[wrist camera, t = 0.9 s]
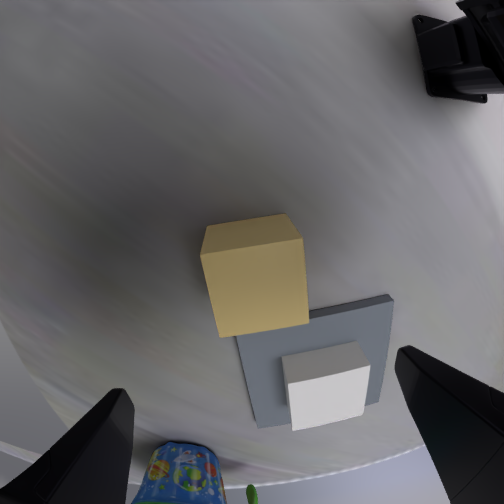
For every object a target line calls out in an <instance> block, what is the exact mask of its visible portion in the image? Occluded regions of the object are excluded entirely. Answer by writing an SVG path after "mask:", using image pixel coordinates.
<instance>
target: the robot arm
mask: <svg viewBox="0 0 504 504" xmlns="http://www.w3.org/2000/svg"><path fill="white" fill-rule="evenodd" d="M456 5H457V6H458V7H459V9H460V10H463V12H464V13H465V15H466V16H464V17H461V18H458V19H455V20H452V21H450V22H446V21H442V20H439V19H435V18H431V17H427V16H423V15H416V16H414V17H413V24H414V28H415V32H416V36H417V41H418V46H419V50H420V55H421V60H422V65H423V70H424V76H425V82H426V88H427V92H428V94H429V95H430V96H431V97H438V98H447V99H455V100H463V101H470V102H476V103H486V102H487V94H504V0H459V1H457V2H456ZM418 19H419V20H420V22H421V23H420V22H419V21H418ZM432 88H434V90H435V92H433V90H432ZM395 373H396V376H397V378H398V381H399V384H400V387H401V389H402V392H403V395H404V398H405V401H406V403H407V406H408V409H409V411H410V413H411V415H412V417H413V419H414V421H415V423H416V425H417V428H418V430H419V432H420V434H421V436H422V438H423V440H424V443H425V445H426V447H427V449H428V451H429V453H430V455H431V458H432V460H433V462H434V465H435V467H436V469H437V471H438V474H439V476H440V479H441V481H442V483H443V486H444V488H445V491H446V493H447V495H448V498H449V500H450V503H451V504H504V393H503V392H501V391H499V390H497V389H495V388H493V387H489V386H488V385H487V384H485V383H483V382H481V381H479V380H477V379H475V378H473V377H471V376H469V375H467V374H465V373H463V372H461V371H459V370H457V369H455V368H453V367H451V366H449V365H448V364H446V363H444V362H442V361H440V360H438V359H436V358H434V357H432V356H430V355H428V354H426V353H424V352H422V351H420V350H419V349H417V348H415V347H413V346H410V345H408V346H404V347H401V348H399V349H398V352H397V356H396V361H395ZM134 412H135V409H134V405H133V403H132V401H131V399H130V397H129V396H128V394H127V392H126V390H125V389H123V388H114V389H112V390H110V391H109V392H108V393H107V394H106V395H105V396H104V397H103V398H102V399H101V400H100V401H99V402H98V403H97V404H96V405H95V406H94V407H93V408H92V409H91V410H90V411H88V412H87V413H86V414H85V415H84V416H83V417H82V418H81V419H80V420H79V421H78V422H77V423H76V424H75V425H74V426H73V427H72V428H71V429H70V430H69V431H68V432H67V433H65V435H63V436H62V438H60V439H59V440H58V441H57V442H56V443H55V444H54V445H53V446H52V447H51V448H50V450H48V451H47V452H46V453H44V454H43V455H42V456H41V457H40V458H39V459H38V460H37V461H36V462H35V463H34V464H32V465H31V466H30V467H29V468H27V469H26V470H25V471H24V472H22V473H21V474H20V475H19V476H17V477H16V478H15V479H13V480H12V481H11V482H9V483H8V484H7V485H5V486H4V487H2V488H1V489H0V504H125V500H126V492H127V484H128V477H129V470H130V463H131V456H132V449H133V430H134Z"/></svg>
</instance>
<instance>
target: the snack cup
mask: <svg viewBox="0 0 504 504" xmlns="http://www.w3.org/2000/svg"><path fill="white" fill-rule="evenodd" d="M246 495H247V499H248V503H249V504H258V498H257V493H256V489H255V487H254V486H253V485H251V484H250V485H248V486H247V489H246ZM131 504H227V501H226V496H225V491H224V485H223V480H222V477H221V473H220V465H219V462H218V459H217V458H216V456H215V455H214V454H213V453H212V452H210V451H208V449H207V448H205V447H202V446H201V447H199V446H195V445H192V444H177V443H173V442H168V443H167V444H166V445H163V446H160V447H159V448H157V449H156V450H155V451H154V452H153V454H152V456H151V459H150V461H149V464H148V467H147V470H146V472H145V475H144V478H143V481H142V484H141V486H140V489H139V491H138V493H137V495H136V497H135V498H134V500H133V501H132V503H131Z"/></svg>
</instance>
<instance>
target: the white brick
mask: <svg viewBox="0 0 504 504" xmlns="http://www.w3.org/2000/svg"><path fill="white" fill-rule="evenodd" d="M281 357H282V365H283V373H284V382H285V390H286V399H287V406H288V411H289V416H290V421H291V425H292V430H293V431H295V430H300V429H305V428H310V427H315V426H319V425H324V424H328V423H332V422H336V421H340V420H344V419H348V418H352V417H355V416H359V415H363V411H364V405H365V399H366V393H367V387H368V380H369V373H370V366H371V365H370V363H369V361H368V360H367V358H366V356H365V354H364V352H363V351H362V349H361V347H360V345H359V344H358V342H357V341H353V342H349V343H345V344H341V345H336V346H332V347H327V348H322V349H318V350H313V351H308V352H303V353H298V354H292V355H287V356H281Z"/></svg>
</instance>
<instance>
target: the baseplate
mask: <svg viewBox="0 0 504 504" xmlns="http://www.w3.org/2000/svg"><path fill="white" fill-rule="evenodd" d="M393 305H394V300H393V299H392V298H391V297H390V296H389V294H388V295H383V296H379V297H375V298H370V299H366V300H361V301H357V302H352V303H347V304H343V305H338V306H333V307H328V308H323V309H318V310H313V311H309V323H308V324H302V325H297V326H292V327H286V328H280V329H275V330H269V331H262V332H256V333H250V334H243V335H236V338H237V343H238V347H239V352H240V356H241V360H242V365H243V369H244V373H245V378H246V382H247V386H248V390H249V395H250V399H251V403H252V407H253V411H254V415H255V419H256V423H257V427H258V428H265V427H272V426H278V425H284V424H289V423H291V421H290V416H289V411H288V406H287V399H286V390H285V382H284V373H283V365H282V357H281V356H287V355H292V354H298V353H303V352H308V351H313V350H318V349H322V348H327V347H332V346H336V345H341V344H345V343H349V342H353V341H357V342H358V344H359V345H360V347H361V349H362V351H363V352H364V354H365V356H366V358H367V360H368V361H369V363H370V365H371V366H370V373H369V380H368V387H367V393H366V399H365V405H364V406H366V405H370V404H373V403H376V402H379V397H380V392H381V387H382V382H383V376H384V371H385V365H386V359H387V353H388V346H389V339H390V332H391V324H392V315H393Z"/></svg>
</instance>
